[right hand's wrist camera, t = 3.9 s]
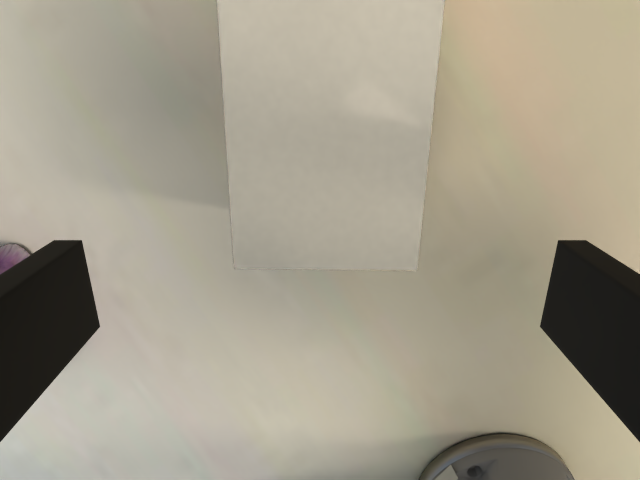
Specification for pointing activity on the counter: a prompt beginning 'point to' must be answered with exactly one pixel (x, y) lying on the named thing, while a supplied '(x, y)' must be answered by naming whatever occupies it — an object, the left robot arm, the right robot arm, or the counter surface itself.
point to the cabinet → (328, 130)
